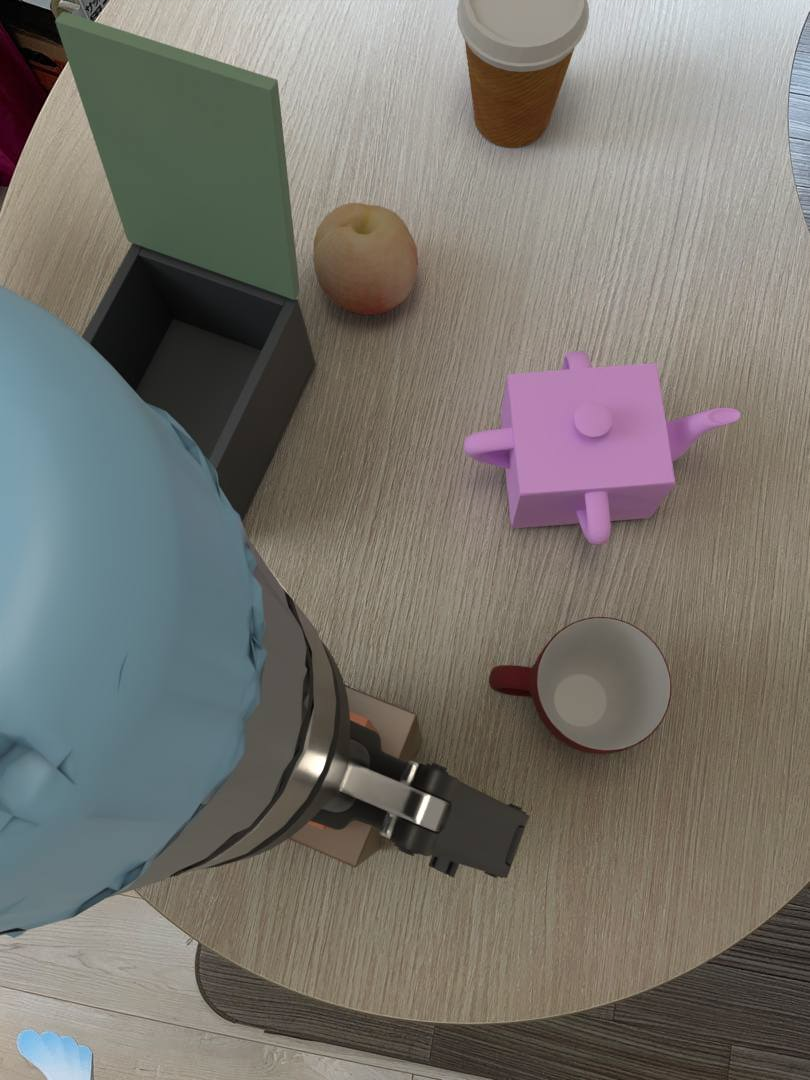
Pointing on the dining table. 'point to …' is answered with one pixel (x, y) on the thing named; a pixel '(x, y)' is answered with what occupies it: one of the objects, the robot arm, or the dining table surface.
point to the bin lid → (188, 152)
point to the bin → (207, 359)
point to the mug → (594, 685)
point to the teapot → (588, 444)
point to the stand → (396, 740)
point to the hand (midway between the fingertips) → (304, 755)
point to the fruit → (365, 258)
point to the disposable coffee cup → (518, 62)
